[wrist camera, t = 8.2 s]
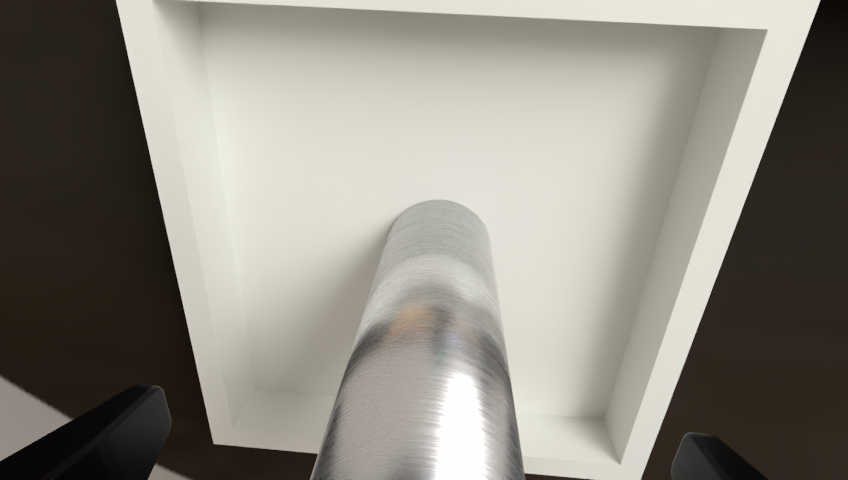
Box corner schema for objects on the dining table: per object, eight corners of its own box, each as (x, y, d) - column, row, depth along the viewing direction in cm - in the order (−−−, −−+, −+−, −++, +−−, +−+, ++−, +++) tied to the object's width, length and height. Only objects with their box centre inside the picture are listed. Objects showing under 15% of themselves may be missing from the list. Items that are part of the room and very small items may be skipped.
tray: (616, 424, 18) (638, 483, 15) (243, 391, 18) (213, 443, 16) (752, -7, 11) (825, -14, 9) (172, -34, 12) (106, -47, 10)
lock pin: (484, 295, 15) (517, 629, 7) (386, 288, 15) (302, 607, 7) (496, 203, 13) (555, 485, 5) (387, 195, 14) (284, 459, 5)
